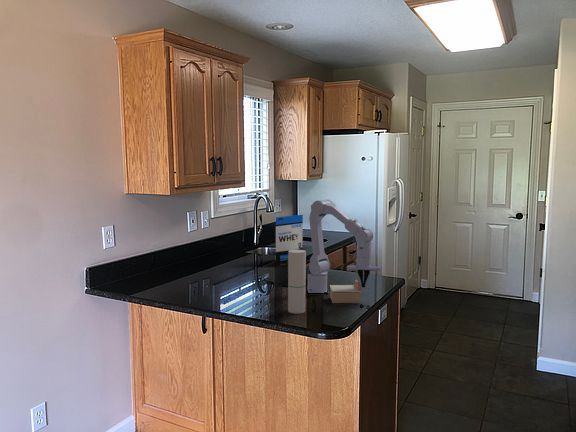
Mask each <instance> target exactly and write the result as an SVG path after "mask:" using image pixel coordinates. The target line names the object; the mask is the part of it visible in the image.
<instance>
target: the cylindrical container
mask: <svg viewBox="0 0 576 432" xmlns="http://www.w3.org/2000/svg"><path fill="white" fill-rule="evenodd" d="M306 258H307V251H306V250H305V249H304V250H303V249H302V250H289V251H288V266H287V272H288V274H287V279H288V280H287V281H288V284H287V285H288V286H287V312H288V313H290V314H304V313H306V289H307V286H306V279H307V278H306V277H307V276H306V272H307V271H306V270H307V267H306V265H307V261H306V260H307V259H306Z"/></svg>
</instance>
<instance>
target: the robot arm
mask: <svg viewBox="0 0 576 432" xmlns="http://www.w3.org/2000/svg"><path fill="white" fill-rule="evenodd" d="M327 215H331V216H332V217H334V218H335V219H337V220H338V221H339V222H341V223H342V224H343V225H344V229H345V230H346V231H347V232H349V233H350V234H351V235H352V236H353V237H354V239H355V241H356V244H357V263H356V265H346V266H347V267H346V271H349V272H350V271H356V272H357V274H358V277H359V279H360V285H361V288H366V283H367V280H368V278H369V276H370V273H371V272H378V273H380V272H381V266H378V265H377V266H375V265H371V258H372V257H371V253H372V251H371V250H372V248H371V247H372V246H371V245H372V241H373V239H374V233H373V231H372V230H371V229H369V228H366V227H365V226H364V225H362V224H360V223H359V222H358V220H357V219H356V218H355V219H354V218H349V217H348V216H347V215H346V213H344V212H343V211H342V210H341V209H340V208H339V207H338V206H337V205H336V203H335V202H333V201H332V200H330V199H325V200H324V199H323V200H314V201H313V203H312V204H311V205H310V214H309V216H308V217H309V218H308V220H309V228H310V236H311V237H310V238H311V239H310V240H311V247H312V255H311V256H310V258H309V265H308V269H309V271H310V273H307V286H306V289H307V293H324V292H327V290H328V273H329V271H330V269H331V263H330V260H329V257H328V255H327V254H326V253H325V246H324V236H323V227H322V226H323V225H322V220H323V219H324V218H325V216H327Z"/></svg>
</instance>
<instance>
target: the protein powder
mask: <svg viewBox="0 0 576 432" xmlns="http://www.w3.org/2000/svg"><path fill="white" fill-rule="evenodd" d="M303 215H304V214H297V215H296V214H295V215H288V216H287V215H286V216H276V217H275V268H278V267H277V266H287V267H288V251H289V250H303V241H304V240H303V239H304V238H303V236H304V235H303V233H304V231H303V230H304V227H303V226H304V224H303V223H304V220H303V219H304V218H303Z"/></svg>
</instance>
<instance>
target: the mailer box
mask: <svg viewBox="0 0 576 432" xmlns="http://www.w3.org/2000/svg"><path fill="white" fill-rule="evenodd" d="M329 289H330V290H329V298H331V299H330V301H331V300H332V301H331V303H360V304H361V292H332V290H331V288H330V287H329Z"/></svg>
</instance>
